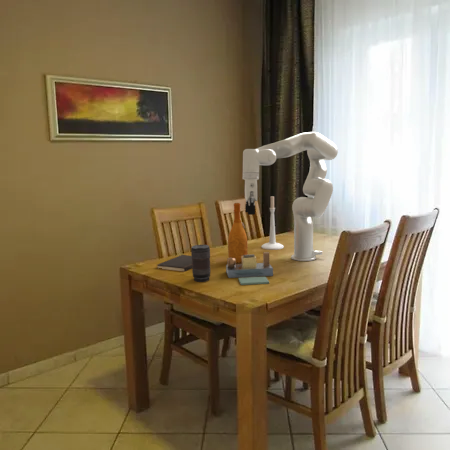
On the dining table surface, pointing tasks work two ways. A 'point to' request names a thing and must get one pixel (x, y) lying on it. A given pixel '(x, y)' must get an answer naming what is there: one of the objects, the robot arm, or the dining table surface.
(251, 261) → the lever cap
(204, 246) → the camera lens
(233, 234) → the wine bottle
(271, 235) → the candlestick
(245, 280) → the rubber mat
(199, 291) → the dining table surface
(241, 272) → the hand plane
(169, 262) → the hardcover book
